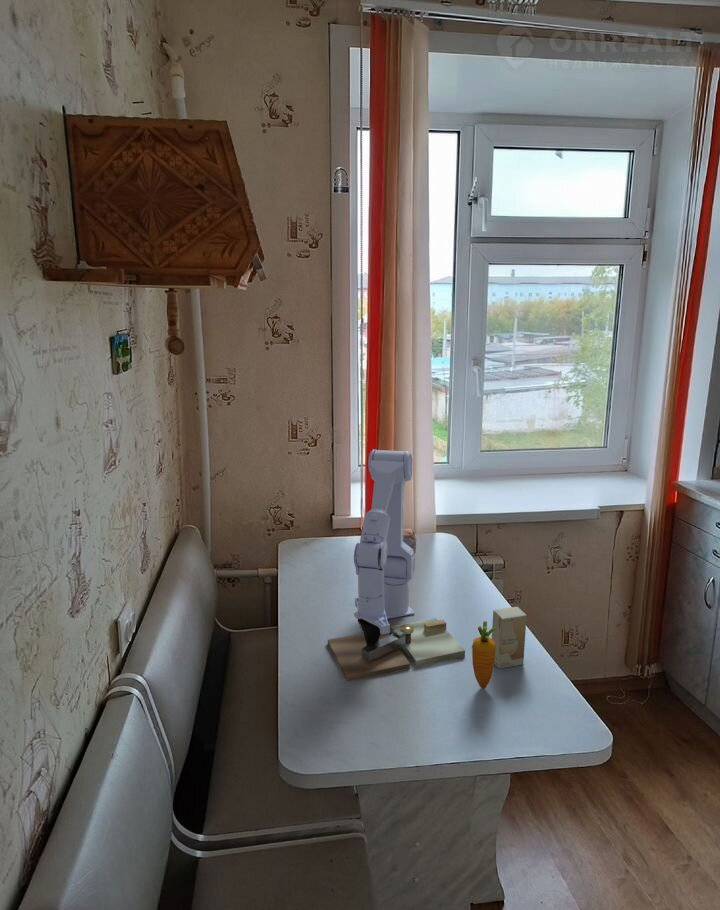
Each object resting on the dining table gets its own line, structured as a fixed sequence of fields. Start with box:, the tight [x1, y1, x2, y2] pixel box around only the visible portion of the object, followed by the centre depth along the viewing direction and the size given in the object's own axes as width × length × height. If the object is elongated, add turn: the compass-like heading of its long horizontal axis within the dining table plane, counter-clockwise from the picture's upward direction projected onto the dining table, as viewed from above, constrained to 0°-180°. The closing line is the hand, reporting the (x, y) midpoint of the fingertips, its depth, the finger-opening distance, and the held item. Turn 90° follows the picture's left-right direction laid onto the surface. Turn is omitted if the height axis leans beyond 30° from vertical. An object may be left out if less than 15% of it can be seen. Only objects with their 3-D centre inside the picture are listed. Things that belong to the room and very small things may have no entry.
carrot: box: [471, 620, 496, 690], centre depth 129 cm, size 5×5×15 cm
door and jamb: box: [327, 617, 466, 682], centre depth 145 cm, size 16×28×4 cm, turn 108°
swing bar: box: [362, 623, 414, 662], centre depth 143 cm, size 14×3×3 cm, turn 129°
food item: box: [403, 527, 418, 555], centre depth 199 cm, size 14×8×10 cm, turn 95°
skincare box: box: [491, 606, 527, 669], centre depth 139 cm, size 6×4×12 cm
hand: (372, 647), depth 143 cm, fingers closed
